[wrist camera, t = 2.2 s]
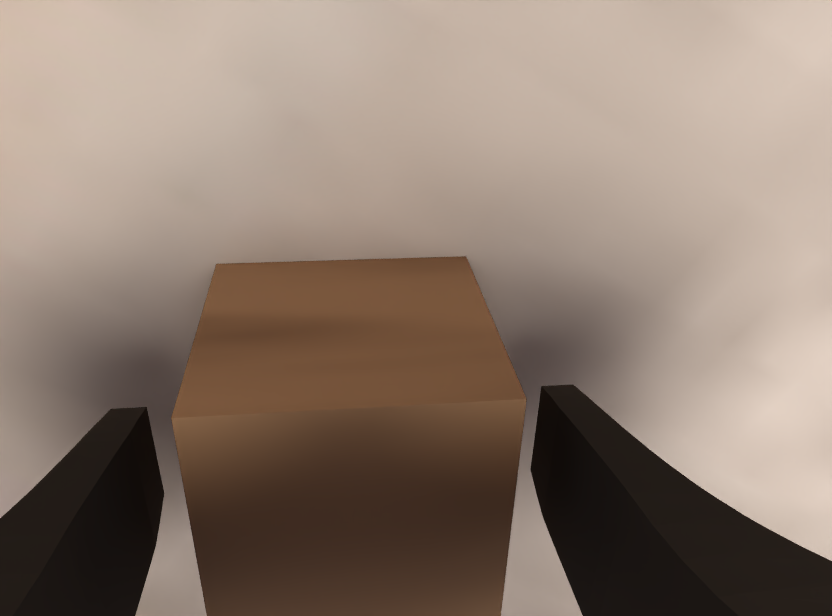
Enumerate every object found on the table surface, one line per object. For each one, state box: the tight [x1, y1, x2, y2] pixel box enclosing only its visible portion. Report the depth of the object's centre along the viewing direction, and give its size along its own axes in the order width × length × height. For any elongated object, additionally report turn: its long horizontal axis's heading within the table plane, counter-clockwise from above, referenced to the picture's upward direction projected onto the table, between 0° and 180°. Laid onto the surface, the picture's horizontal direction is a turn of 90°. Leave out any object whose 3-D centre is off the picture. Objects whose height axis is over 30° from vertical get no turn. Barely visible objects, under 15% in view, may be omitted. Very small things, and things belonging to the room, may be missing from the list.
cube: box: [171, 256, 527, 616], centre depth 13 cm, size 5×5×5 cm
